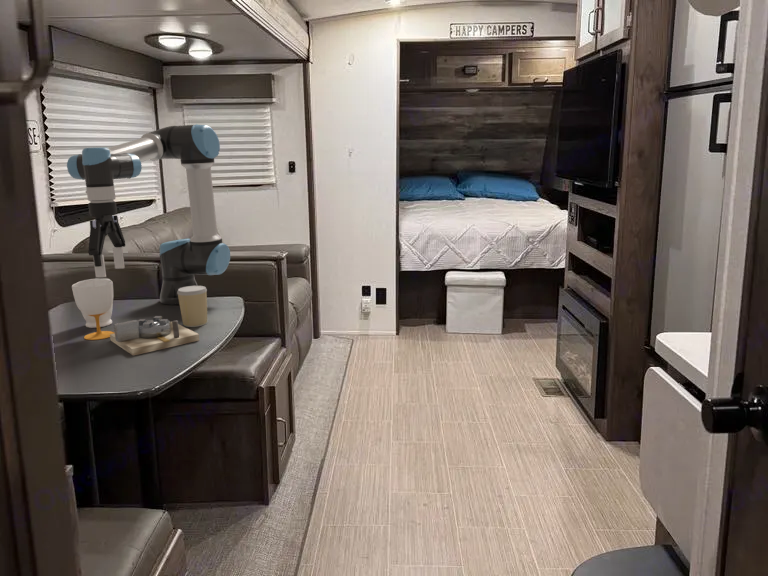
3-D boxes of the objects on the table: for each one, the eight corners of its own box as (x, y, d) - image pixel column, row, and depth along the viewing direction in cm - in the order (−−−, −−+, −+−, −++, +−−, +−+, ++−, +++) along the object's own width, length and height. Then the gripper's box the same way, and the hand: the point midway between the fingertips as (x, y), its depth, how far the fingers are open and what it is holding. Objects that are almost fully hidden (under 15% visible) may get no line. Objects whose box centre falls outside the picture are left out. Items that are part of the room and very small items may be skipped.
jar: (103, 329, 212) (97, 285, 209) (75, 328, 215) (68, 284, 211) (122, 320, 223) (116, 278, 219) (95, 320, 225) (89, 277, 221)
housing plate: (173, 327, 212) (171, 306, 211) (200, 340, 197) (197, 318, 195) (109, 340, 200) (106, 319, 198) (131, 356, 184) (128, 332, 183)
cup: (90, 331, 211) (82, 279, 208) (125, 330, 211) (118, 278, 207) (72, 342, 200) (64, 288, 196) (109, 341, 200) (102, 287, 196)
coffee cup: (200, 318, 222) (197, 284, 220) (215, 323, 216) (211, 287, 213) (175, 324, 216) (171, 289, 213) (189, 329, 209) (185, 293, 207)
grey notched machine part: (163, 326, 205) (162, 311, 204) (176, 333, 197) (174, 317, 196) (111, 337, 195) (109, 321, 194) (122, 344, 188) (120, 328, 186)
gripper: (107, 198, 202) (115, 265, 207) (68, 205, 178) (79, 281, 182) (131, 197, 202) (138, 264, 207) (96, 204, 178) (105, 280, 182)
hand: (110, 272), depth 195 cm, fingers open, 13 cm apart
